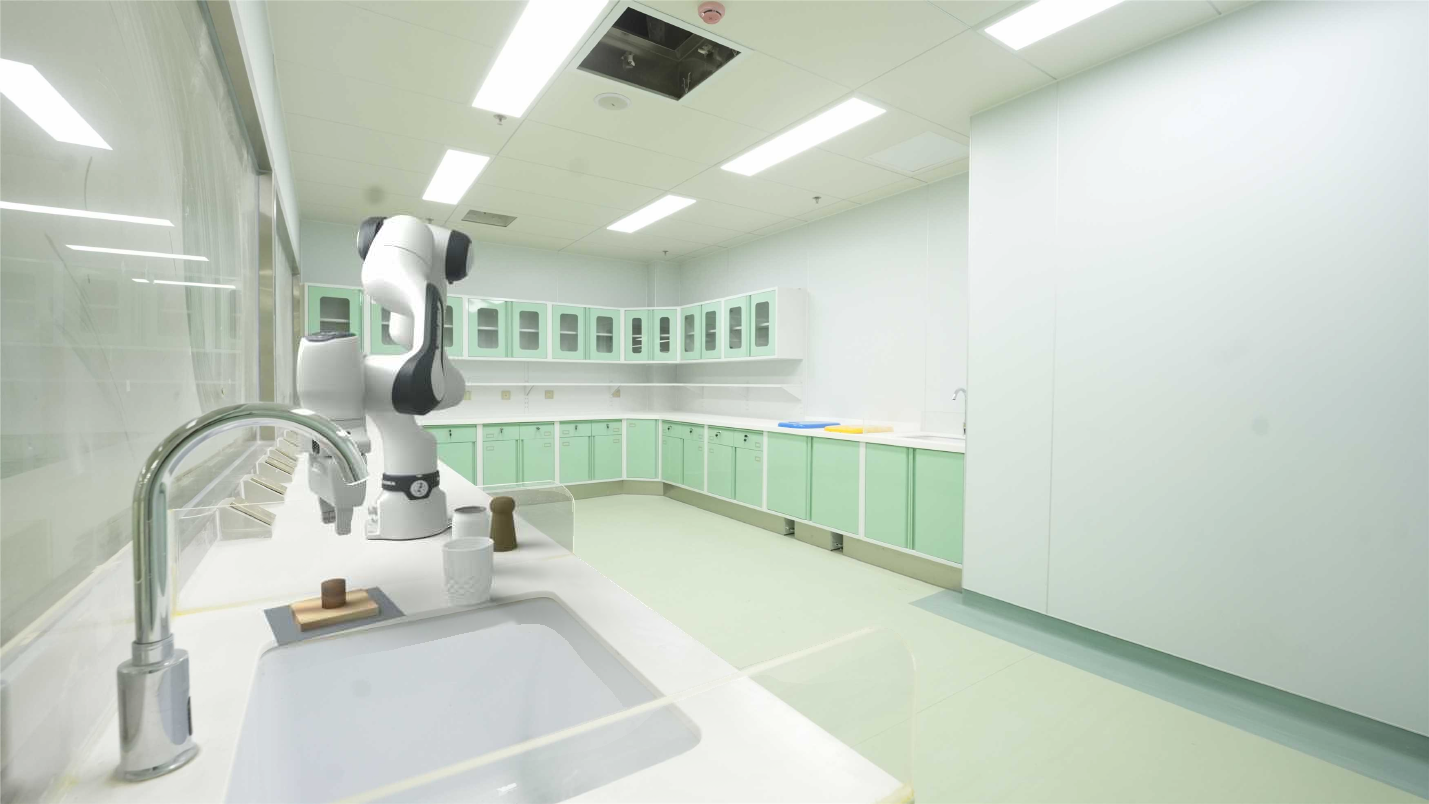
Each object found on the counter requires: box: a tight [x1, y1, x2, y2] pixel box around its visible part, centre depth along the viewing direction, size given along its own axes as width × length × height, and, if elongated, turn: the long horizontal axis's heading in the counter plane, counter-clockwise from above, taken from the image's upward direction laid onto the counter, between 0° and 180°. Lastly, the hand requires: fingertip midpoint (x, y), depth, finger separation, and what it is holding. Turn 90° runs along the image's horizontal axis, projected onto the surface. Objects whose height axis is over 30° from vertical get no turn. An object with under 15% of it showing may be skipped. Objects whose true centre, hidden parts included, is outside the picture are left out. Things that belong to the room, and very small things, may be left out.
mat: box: [263, 586, 406, 647], centre depth 95 cm, size 16×16×1 cm
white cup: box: [441, 537, 494, 607], centre depth 102 cm, size 8×8×10 cm
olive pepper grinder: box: [489, 495, 518, 553], centre depth 132 cm, size 6×6×11 cm
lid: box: [289, 578, 379, 632], centre depth 95 cm, size 10×10×5 cm
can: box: [451, 505, 490, 540], centre depth 117 cm, size 6×6×12 cm
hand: (335, 528), depth 94 cm, fingers open, 8 cm apart
